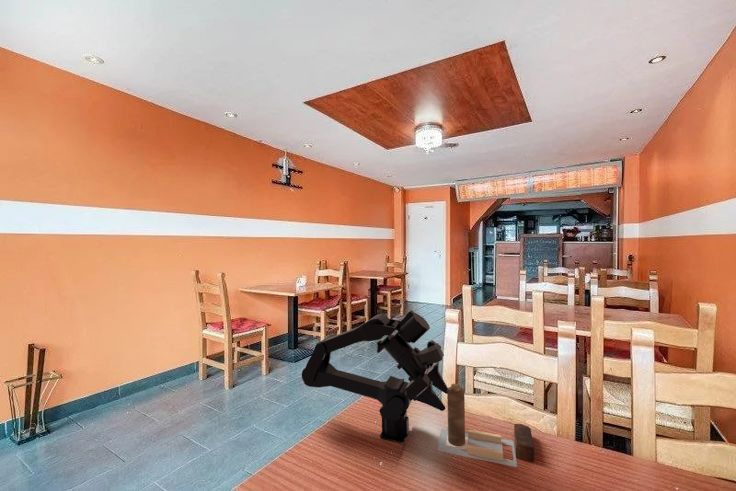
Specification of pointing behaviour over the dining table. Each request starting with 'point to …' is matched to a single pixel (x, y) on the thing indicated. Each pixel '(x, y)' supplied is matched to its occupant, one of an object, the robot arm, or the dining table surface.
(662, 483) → the dining table surface
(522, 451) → the brick
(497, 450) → the board
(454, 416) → the pepper mill
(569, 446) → the dining table surface
